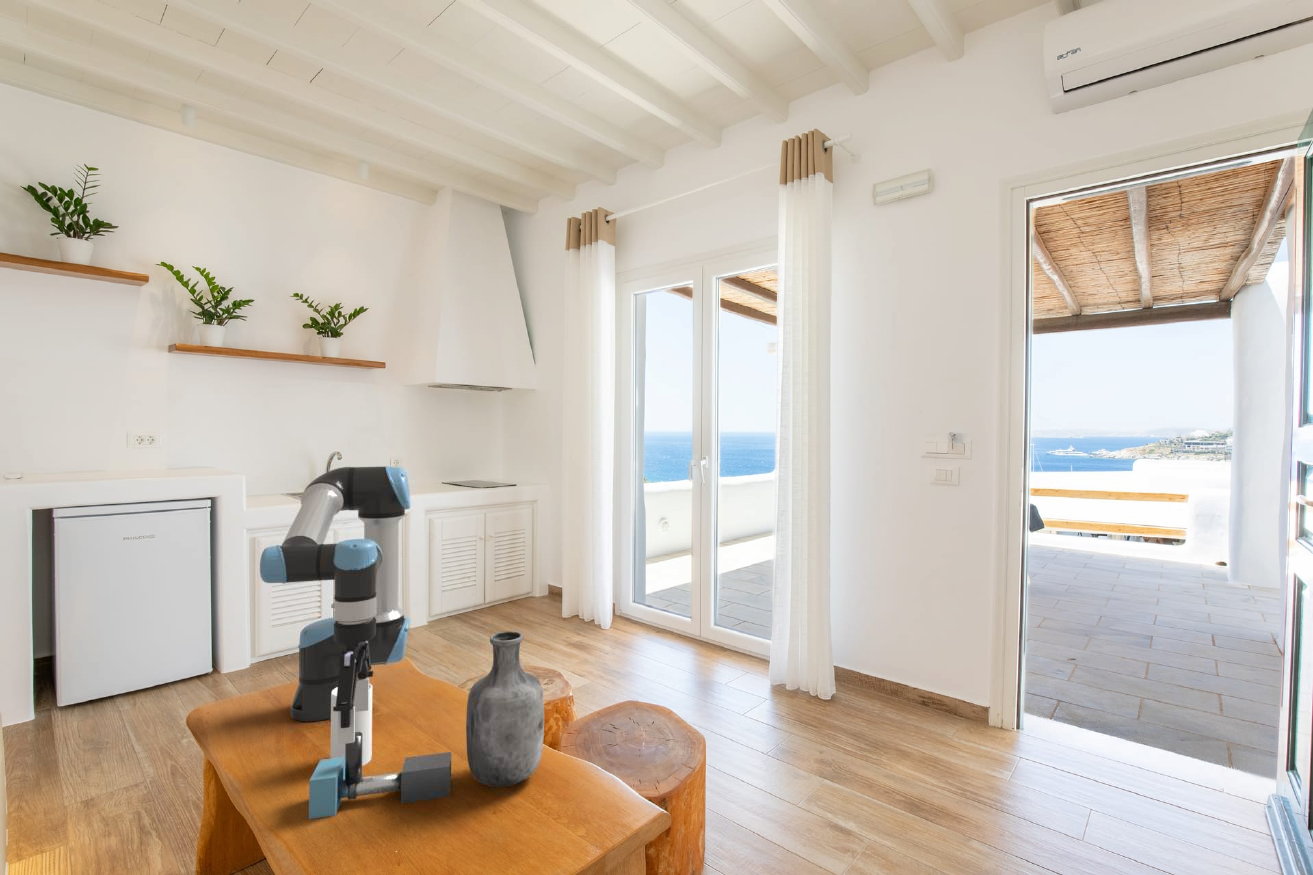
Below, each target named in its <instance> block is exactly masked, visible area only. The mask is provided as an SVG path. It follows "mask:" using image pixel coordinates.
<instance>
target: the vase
mask: <svg viewBox="0 0 1313 875" xmlns="http://www.w3.org/2000/svg"><path fill="white" fill-rule="evenodd" d="M523 638H524V636H523V634H522V632H519V631H501V632H497V633H494V634H492V635H490V637H489V643H490V644H491V645H492V654H493V655H492V666H491V670H490V671H489V673H487V675H485V676H483V677H481V678H480V679H478V680H477V681H476V682H475V683H474V684H473V685H472V687H471V688H470V690H469V692H468V695H467V702H466V718H465V719H466V721H465V726H466V727H465V734H466V736H465V737H466V756H467V761H468V762H467V763H468V768H469V771H470V774H471V775H472V776H473V778H475V780H476V781H477V782H480V783H481V784H483V785H486V786H490V787H499V788H502V787H509V786H513V785H515V784H516V785H517V784H519V783H521V782H523V781H525V780H527V779H529V777H530V776H532V775H533V774H534V773H535V772H536V770H537V768H538V767H539V765H540V762H541V758H542V754H543V749H544V748H543V746H544V738H545V737H544V735H545V700H544V699H545V698H544V690H543V686H542V684H541V682H540V680H539V679H538V678H537V677H536V676H534V675H532V674H530V673H528V672H525V671H524V669H523V668H522V665H521V663H520V647H521V643H522V642H523V641H524V640H523Z"/></svg>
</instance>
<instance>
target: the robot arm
mask: <svg viewBox="0 0 1313 875" xmlns="http://www.w3.org/2000/svg"><path fill="white" fill-rule="evenodd" d="M410 494H411V492H410V486H409V480H408V475H407V472H406V470H405V469H404V468H403V467H399V466H387V465H386V466H343V467H338V468H334V469H332V470H329V471H326V472H324V473H323V474H321V475H319V476H318V477H317V478H315V479H314V480H312V481H311V482H310V483H309V484H308V485H307V486H306V487H305V489H304V491H303V492H302V494H301V497H300V503H301V504H300V505H301V506H300V508H299V510H298V512H297V514H296V516H295V518H294V520H293V522H292V524H291V526H290V528H289V530H288V531H287V534H286V536H285V538H284V540H283V542H282V543H281V545H279V544H277V545H275V546H273V545H272V546H267V547H265V548H264V549H263V551H262V552H261V555H260V560H259V574H260V575H259V576H260V578H261V580H262V582H264V583H266V584H289V583H290V584H291V583H300V582H303V583H304V582H317V581H319V582H321V581H334V598H333V599H334V602H333V603H331V605H330V607H331V608H332V609H334V610H333V617H328V618H324V619H320V620H317V621H314V622H312V623H310V624H308V625H306V626H305V627H304V628H303V629H301V631H300V635H299V645H298V650H299V651H298V652H299V653H298V685H297V689H296V692H295V694H294V697H293V699H292V702H291V704H290V717H291V719H293V720H295V721H298V722H318V721H325V720H329V719H330V720H331V692H332V690H333V689H335V688H337V687H338V690H337V699H336V707H333V711H336V712H337V711H338V744H347V743H354V741H355V712H359V711H368V710H369V683H370V678H372V677H374V671H373V670H372V666H382V665H385V666H386V665H388V664H394V663H400V662H401V661H402V660H403V659H404V657H405V652H406V648H407V646H406V645H407V641H408V635H409V634H408V632H409V628H410V618H408V617H405V611H404V610H403V609H402V608H400V607H399V546H400V545H399V542H400V541H399V537H400V534H399V533H400V532H399V528H400V527H399V526H400V524H399V523H400V521H401V520H402V518H404V517H405V513H406V512H405V511H407V510H409V509H410V508H411V495H410ZM341 511H342V512H343V511H357V517H358V519H359V520H361V521H362V522H363V526H364V527H363V528H364V534H363V535H364V536H363V538H356V539H354V538H353V539H347V540H346V539H345V540H342V541H339V542H337V543H325V540H326V538H327V535H328V532H329V530H330V527H331V526H332V525H331V524H332V523H333V520H334V517H335V516H336V515H337V514H339V513H340V512H341Z"/></svg>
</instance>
